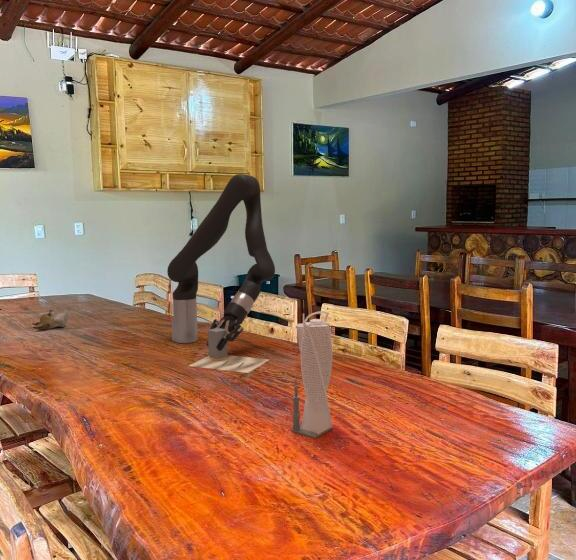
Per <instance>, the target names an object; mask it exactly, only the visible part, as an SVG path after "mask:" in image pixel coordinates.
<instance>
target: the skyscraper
mask: <svg viewBox="0 0 576 560" xmlns="http://www.w3.org/2000/svg"><path fill="white" fill-rule="evenodd" d="M318 314H326V315H325V317H324V320H323V319H319V318H313V319H310V321H308V319H309V318H311V317H312V316H314V315H315V316H316V315H318ZM329 315H330V314H329V312H328V311H327V310H319V311H316V312H315V311H314V312H312V313H310V314H308V315H307V316H306V317H305V318H304V323H303V322H302V323H303V332H302V341H301V352H300V371H301V379H302V383H303V389H304V394H305V401H304V405H303V407H304V408H303V413H302V414H303V415H302V420H301V414H300V408H299V407H300V396H299V395H298V394H299V393H298V391H299V390H298V388H299V386H298V385H297V384H298V383H297V382H298V381H297V378H294V382H295V383H294V384H295V385H293V386H294V387H293V388H294V396H292V404H293V405H292V406H293V410H292V411H293V412H292V422H293V423H292V428H291V429H290V431H291V432H293V433H296V434H299V435H302V436H305V437H308V438H310V439H317V438H319V437H320V436H322V435H324V434H325V433H328V432H329V431H331V430H332V429H333V423H332V416H331V412H330V411H331V410H330V405H329V399H328V395H327V391H328V389H329V384H330V380H331V376H332V375H331V374H332V367H333V342H332V334H331V324H330V323H329V322H327V319H328V317H329ZM303 341H304V342H303ZM300 421H301V424H300Z"/></svg>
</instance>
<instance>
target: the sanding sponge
mask: <svg viewBox="0 0 576 560" xmlns="http://www.w3.org/2000/svg"><path fill="white" fill-rule="evenodd" d="M224 333H225V330H224V329H221V328H215V329H211V330H210V329H208V330H207V342H208V345H209V346H207V347H208V356H209V359H211V360H215V361H220V360H223V359H227V358H228V357H227V355H228V342H227V343H226V345H225V346H224V348H223V349H222V350H221V351H219V350H218V349H217V348H216V346H217V345H218V343H219V342H220V340H221V339H223V335H224Z"/></svg>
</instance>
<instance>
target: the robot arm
mask: <svg viewBox="0 0 576 560" xmlns="http://www.w3.org/2000/svg"><path fill="white" fill-rule="evenodd" d="M242 201H243V205H244V207H245V212H246V213H245V214H246V219H245V226H244V227H245V228H244V236H245V237H244V238H245V241H246V248H247V252H248V255H249V256H250V257H251V258H254V260H255V262H256V263H253V265H251V267H250V268H249V269H248V271H247V273H246V276H245V278H244V281H243V283H242V285H241V286H240V287H239V289H238V290H237V292H236V293H235V294H234V296H233V297H232V299H231V301H230V302H229V303H228V305H227V306H226V308H225V309H224V311H223V317H222V318H221V319H220V320H217V319H214V320H213V322H212V324H211V326H210V329H209V330H211V329H215V328H221V329H224V330H225V333H224V335H223V339H221V340H220V342H219V343H218V345H217V346H216V348H217V349H218V350H219V351H221V350H222V349H223V348H224V346H225V345H226V343H227V344H228V343H229V342H234V341H235V340H236V338H238V336H239V335H240V334H241V333H242V332H243V331H244V328H243V326H242V324H243V323H244V321H245V320H246V318H247V316H248V315H249V313H250V312H251V310H252V307H253V305H254V304H255V303H256V301H257V299H258V297H259V295H261V285H262V284H263V282H264V283H265V282H267V281H271V280H272V279H273V278H274V277H275V274H276V267H275V264H274V261H273V259H272V256H271V254H270V252H269V251H268V246H267V241H266V237H265V233H264V225H263V218H262V203H261V187H260V183H259V180H258V179H257V178H256V177H255V176H253V175H248V174H243V173H238V174H235V175H233V176H232V177H231V178H230V179H229V181H228V182H227V184H226V185H225V187H224V189H223V190H222V192H221V194H220V196H219V198H218V199H217V201H216V202H215V204H214V205H213V207H212V208H211V209H210V211H209V212H208V213H207V215H206V216H205V217H204V218H203V220H202V222H201V223H200V224H199V225H198V227H197V228H196V230H195V231H194V233H193V234H192V235H191V237H190V238H189V239H188V241H187V242H186V244H185V245H184V246H183V247H182V249H181V250H180V251H179V252H178V253H177V255H175V257H174V258H172V260H170V262H169V264H168V266H167V271H166V272H167V277H168V278H169V279H170V280H171V281H172V282H174V283H177V287H176V288H175V289H174V290H173V292H172V307H173V308H172V313H173V316H172V317H171V339H172V340H171V341H172V342H175V343H179V344H190V343H191V344H192V343H194V342H197V341H199V339H198V337H199V334H198V332H199V331H198V306H197V294H198V290H199V267H198V264H197V260H199V259H200V258H201V257H202V256H204V254H206V253H207V252H208V251H210V250H211V249H212V248H213V247H215V246H216V245H217V243H219V241H220V240H221V238H222V237H223V236H224V235H225V233H226V231H227V229H228V225H229V222H230V218H231V215H232V213H233V211H234V210H235V209H236V208H237V206H238V205H240V203H241V202H242ZM208 346H209V345H208V341H207V343H206V347H208Z"/></svg>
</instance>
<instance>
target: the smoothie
mask: <svg viewBox="0 0 576 560" xmlns="http://www.w3.org/2000/svg"><path fill="white" fill-rule="evenodd" d="M304 320H305V313H302V323H297V324H295V329H296V335H297V341H298V351H299V352H300V353H301V341H302V332H303V323H304ZM303 342H304V341H303Z"/></svg>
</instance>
